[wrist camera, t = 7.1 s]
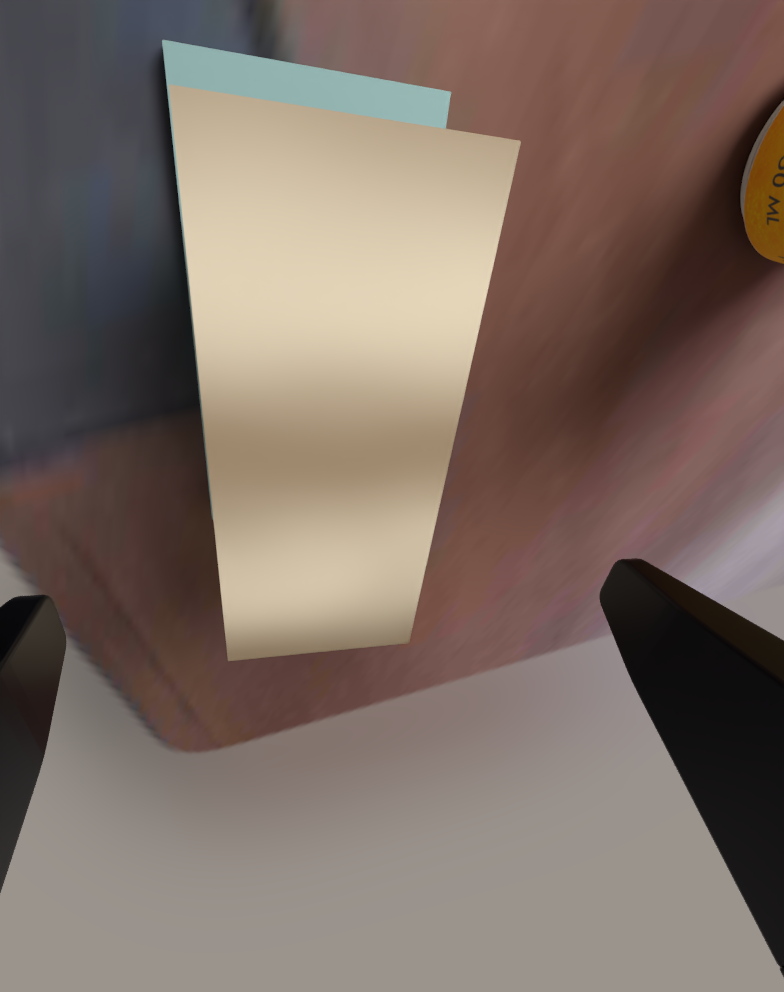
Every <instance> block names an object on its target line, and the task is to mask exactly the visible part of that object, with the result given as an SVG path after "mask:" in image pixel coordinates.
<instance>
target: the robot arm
mask: <svg viewBox="0 0 784 992" xmlns="http://www.w3.org/2000/svg"><path fill="white" fill-rule="evenodd" d="M600 603H601V606H602V609H603V611H604V614H605V616H606V619H607V621H608V624H609V626H610V629H611V631H612V634H613V636H614V639H615V641H616V643H617V646H618V648H619V651H620V653H621V656H622V658H623V661H624V663H625V666H626V668H627V671H628V673H629V675H630V677H631V680H632V682H633V684H634V686H635V688H636V690H637V693H638V695H639V696H640V698H641V700H642V702H643V704H644V706H645V708H646V710H647V712H648V714H649V716H650V718H651V720H652V722H653V723H654V725H655V728H656V729H657V731H658V733H659V735H660V737H661V739H662V741H663V743H664V745H665V747H666V749H667V751H668V753H669V755H670V757H671V758H672V760H673V762H674V764H675V766H676V768H677V770H678V772H679V774H680V776H681V778H682V780H683V782H684V784H685V786H686V787H687V790H688V792H689V793H690V795H691V797H692V799H693V801H694V803H695V805H696V807H697V809H698V811H699V813H700V815H701V817H702V818H703V821H704V822H705V824H706V826H707V828H708V830H709V832H710V834H711V836H712V838H713V840H714V842H715V844H716V846H717V848H718V850H719V852H720V854H721V855H722V857H723V859H724V861H725V863H726V865H727V867H728V869H729V871H730V873H731V875H732V877H733V879H734V881H735V883H736V885H737V887H738V889H739V891H740V892H741V894H742V896H743V898H744V900H745V902H746V904H747V906H748V908H749V910H750V912H751V914H752V916H753V917H754V920H755V922H756V924H757V925H758V927H759V929H760V931H761V933H762V935H763V937H764V939H765V941H766V943H767V945H768V947H769V949H770V951H771V953H772V954H773V956H774V958H775V960H776V962H777V964H778V965H779V966H780V971H781V973H782V975H783V977H784V640H782V639H780V638H778V637H777V636H775V635H773V634H771V633H770V632H768V631H766V630H764V629H763V628H761V627H759V626H757V625H756V624H754V623H752V622H750V621H749V620H747V619H745V618H743V617H742V616H740V615H738V614H737V613H735V612H733V611H731V610H729V609H728V608H726V607H724V606H723V605H721V604H719V603H717V602H716V601H714V600H712V599H710V598H709V597H707V596H705V595H703V594H702V593H700V592H698V591H696V590H695V589H693V588H691V587H690V586H688V585H686V584H684V583H683V582H681V581H679V580H677V579H676V578H674V577H672V576H670V575H669V574H667V573H665V572H663V571H662V570H660V569H658V568H656V567H655V566H653V565H651V564H650V563H648V562H646V561H644V560H642V559H637V558H635V559H621V560H618V561H617V562H616V563H615V564H614V565H613V567H612V569H611V571H610V573H609V575H608V577H607V579H606V581H605V583H604V585H603V586H602V588H601V591H600ZM65 650H66V635H65V631H64V629H63V626H62V623H61V621H60V618H59V615H58V613H57V610H56V607H55V605H54V602H53V600H52V599H51V598H50V597H49V596H47V595H33V596H19V597H15V598H13V599H11V600H9V601H8V602H6V603H5V604H4V605H3V606H1V607H0V892H1V889H2V886H3V883H4V880H5V877H6V874H7V871H8V868H9V865H10V862H11V859H12V855H13V852H14V849H15V846H16V843H17V840H18V837H19V834H20V831H21V828H22V825H23V822H24V819H25V815H26V812H27V809H28V806H29V803H30V800H31V797H32V794H33V791H34V787H35V785H36V781H37V778H38V775H39V772H40V768H41V765H42V762H43V758H44V754H45V750H46V745H47V741H48V736H49V731H50V725H51V721H52V716H53V711H54V705H55V701H56V696H57V691H58V686H59V681H60V675H61V671H62V666H63V661H64V655H65Z"/></svg>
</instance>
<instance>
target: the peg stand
mask: <svg viewBox="0 0 784 992" xmlns="http://www.w3.org/2000/svg"><path fill="white" fill-rule="evenodd" d="M162 44H163V54H164V63H165V73H166V82H167V92H168V102H169V111H170V121H171V130H172V140H173V150H174V159H175V169H176V178H177V188H178V197H179V207H180V217H181V226H182V236H183V245H184V255H185V265H186V274H187V284H188V293H189V303H190V313H191V322H192V332H193V341H194V351H195V361H196V370H197V380H198V389H199V399H200V408H201V418H202V428H203V437H204V447H205V456H206V466H207V476H208V485H209V495H210V504H211V514H212V519H213V510H212V500H211V491H210V481H209V471H208V461H207V452H206V442H205V432H204V422H203V413H202V403H201V393H200V384H199V374H198V364H197V354H196V345H195V335H194V325H193V315H192V306H191V296H190V286H189V276H188V267H187V257H186V247H185V237H184V228H183V218H182V208H181V198H180V189H179V179H178V169H177V160H176V150H175V140H174V130H173V121H172V111H171V101H170V91H169V84H170V85H176V86H183V87H189V88H195V89H201V90H207V91H214V92H220V93H226V94H232V95H238V96H245V97H251V98H257V99H263V100H270V101H276V102H282V103H288V104H294V105H301V106H307V107H313V108H319V109H325V110H332V111H338V112H344V113H350V114H356V115H363V116H369V117H375V118H381V119H387V120H394V121H400V122H406V123H412V124H419V125H425V126H431V127H437V128H443V129H446V123H447V116H448V109H449V103H450V96H451V92H449V91H443V90H438V89H432V88H427V87H421V86H416V85H410V84H404V83H399V82H393V81H388V80H382V79H377V78H371V77H366V76H360V75H355V74H349V73H344V72H338V71H333V70H327V69H322V68H316V67H311V66H305V65H299V64H294V63H288V62H283V61H277V60H272V59H266V58H261V57H255V56H250V55H244V54H239V53H233V52H228V51H222V50H217V49H211V48H206V47H200V46H194V45H189V44H183V43H178V42H172V41H167V40H162Z"/></svg>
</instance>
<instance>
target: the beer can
mask: <svg viewBox="0 0 784 992" xmlns="http://www.w3.org/2000/svg"><path fill="white" fill-rule="evenodd" d="M740 201H741V211H742V215H743V219H744V223H745V229H746V232H747V235H748V238H749V240H750V242H751V244H752V245H753V247H754V248H755V249H756V251H757V252H759V253H760V254H761V255H762V256H764V257H765V258H767V259H769V260H772V261H775V262H779V263H782V264H784V100H783V101H782V102H781V103H780V105H779V106H778V107H777V109H776V110H775V111H774V112H773V114H772V115H771V117H770V118H769V119H768V121H767V122H766V124H765V125H764V127H763V129H762V131H761V132H760V134H759V136H758V138H757V140H756V142H755V144H754V146H753V148H752V150H751V153H750V155H749V158H748V161H747V164H746V167H745V170H744V174H743V178H742V185H741V195H740Z"/></svg>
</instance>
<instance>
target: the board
mask: <svg viewBox="0 0 784 992" xmlns="http://www.w3.org/2000/svg"><path fill="white" fill-rule="evenodd" d="M169 91H170V101H171V111H172V121H173V130H174V140H175V150H176V160H177V169H178V179H179V189H180V198H181V208H182V218H183V228H184V237H185V247H186V257H187V267H188V276H189V286H190V296H191V306H192V315H193V325H194V335H195V345H196V354H197V364H198V374H199V384H200V393H201V403H202V413H203V422H204V432H205V442H206V452H207V461H208V471H209V481H210V491H211V500H212V510H213V520H214V530H215V539H216V549H217V559H218V569H219V578H220V588H221V598H222V608H223V617H224V627H225V637H226V646H227V656H228V661H234V660H244V659H254V658H264V657H274V656H284V655H294V654H304V653H314V652H324V651H334V650H344V649H353V648H363V647H373V646H383V645H393V644H403V643H409V640H410V635H411V631H412V626H413V622H414V617H415V613H416V608H417V604H418V600H419V595H420V591H421V586H422V582H423V577H424V573H425V568H426V564H427V559H428V555H429V550H430V546H431V541H432V537H433V532H434V528H435V523H436V519H437V515H438V510H439V506H440V501H441V497H442V492H443V488H444V483H445V479H446V474H447V470H448V465H449V461H450V456H451V452H452V447H453V443H454V438H455V434H456V430H457V425H458V421H459V416H460V412H461V407H462V403H463V398H464V394H465V389H466V385H467V380H468V376H469V371H470V367H471V362H472V358H473V354H474V349H475V345H476V340H477V336H478V331H479V327H480V322H481V318H482V313H483V309H484V304H485V300H486V295H487V291H488V286H489V282H490V277H491V273H492V269H493V264H494V260H495V255H496V251H497V246H498V242H499V237H500V233H501V228H502V224H503V219H504V215H505V210H506V206H507V201H508V197H509V192H510V188H511V184H512V179H513V175H514V170H515V166H516V161H517V157H518V152H519V148H520V143H521V141H518V140H512V139H505V138H499V137H493V136H487V135H481V134H474V133H468V132H462V131H456V130H450V129H443V128H437V127H431V126H425V125H419V124H412V123H406V122H400V121H394V120H387V119H381V118H375V117H369V116H363V115H356V114H350V113H344V112H338V111H332V110H325V109H319V108H313V107H307V106H301V105H294V104H288V103H282V102H276V101H270V100H263V99H257V98H251V97H245V96H238V95H232V94H226V93H220V92H214V91H207V90H201V89H195V88H189V87H183V86H176V85H170V84H169Z"/></svg>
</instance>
